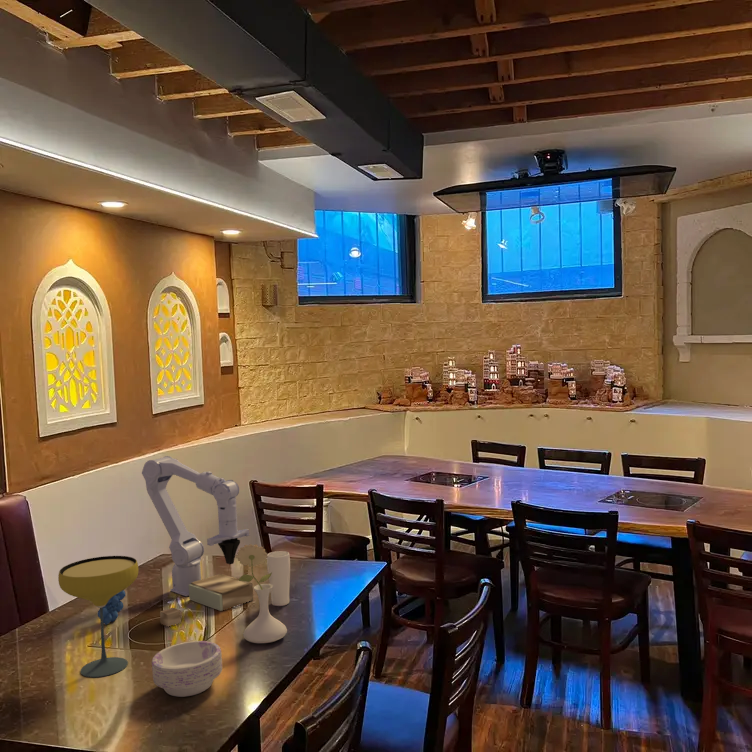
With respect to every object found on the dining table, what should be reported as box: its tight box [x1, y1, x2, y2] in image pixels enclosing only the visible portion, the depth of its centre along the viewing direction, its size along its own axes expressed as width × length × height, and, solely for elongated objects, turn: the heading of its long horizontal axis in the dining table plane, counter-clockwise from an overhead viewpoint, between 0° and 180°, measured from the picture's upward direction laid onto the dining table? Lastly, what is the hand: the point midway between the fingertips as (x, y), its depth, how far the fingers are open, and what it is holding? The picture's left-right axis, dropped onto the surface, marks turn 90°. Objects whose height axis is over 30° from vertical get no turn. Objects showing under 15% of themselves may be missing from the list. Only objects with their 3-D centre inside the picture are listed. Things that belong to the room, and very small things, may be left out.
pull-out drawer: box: [188, 584, 223, 612], centre depth 221 cm, size 16×10×5 cm, turn 47°
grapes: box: [97, 589, 126, 625], centre depth 207 cm, size 12×7×12 cm, turn 165°
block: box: [159, 607, 182, 628], centre depth 204 cm, size 4×4×4 cm
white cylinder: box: [266, 550, 291, 607], centre depth 216 cm, size 7×7×15 cm
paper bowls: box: [151, 640, 223, 698], centre depth 163 cm, size 15×15×8 cm
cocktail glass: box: [57, 555, 139, 679], centre depth 176 cm, size 18×18×25 cm
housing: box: [191, 573, 254, 611], centre depth 222 cm, size 16×11×5 cm
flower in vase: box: [235, 543, 288, 644], centre depth 190 cm, size 13×11×25 cm
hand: (230, 563), depth 226 cm, fingers closed
